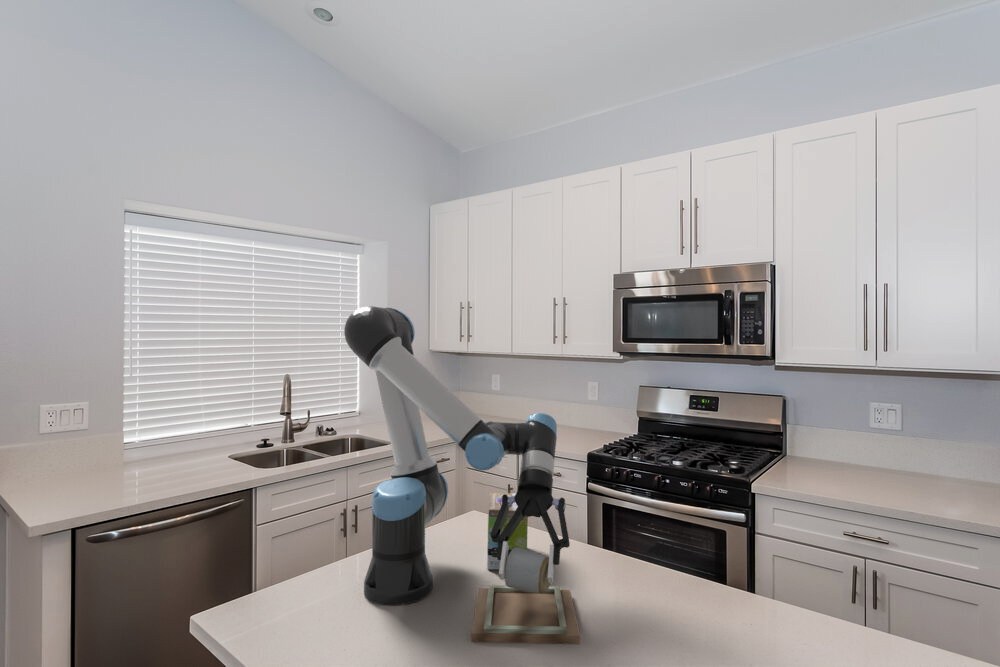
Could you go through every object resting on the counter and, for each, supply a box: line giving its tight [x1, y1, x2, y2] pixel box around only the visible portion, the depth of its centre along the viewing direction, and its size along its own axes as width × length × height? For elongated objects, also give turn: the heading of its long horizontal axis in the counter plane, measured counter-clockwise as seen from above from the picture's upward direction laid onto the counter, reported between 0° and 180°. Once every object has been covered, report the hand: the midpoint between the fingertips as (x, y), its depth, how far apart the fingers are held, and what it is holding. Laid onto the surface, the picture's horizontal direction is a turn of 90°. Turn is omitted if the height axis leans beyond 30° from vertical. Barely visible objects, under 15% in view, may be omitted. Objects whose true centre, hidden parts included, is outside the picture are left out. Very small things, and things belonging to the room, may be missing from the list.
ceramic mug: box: [504, 547, 551, 593], centre depth 111 cm, size 11×8×8 cm
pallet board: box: [470, 584, 581, 645], centre depth 109 cm, size 20×18×2 cm
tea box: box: [486, 492, 529, 571], centre depth 138 cm, size 15×10×15 cm
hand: (525, 578), depth 106 cm, fingers closed on ceramic mug, 9 cm apart
